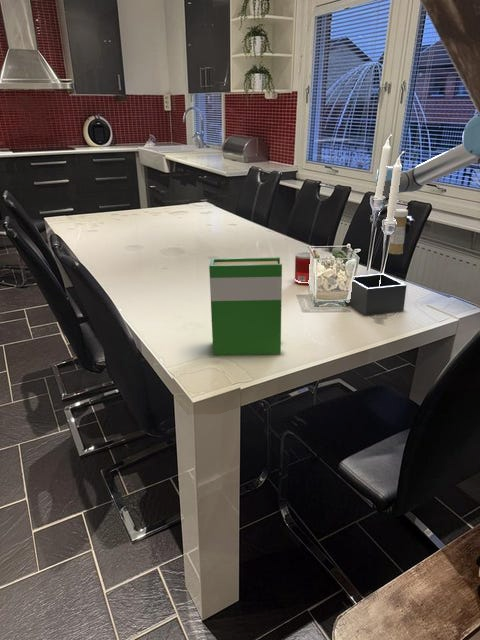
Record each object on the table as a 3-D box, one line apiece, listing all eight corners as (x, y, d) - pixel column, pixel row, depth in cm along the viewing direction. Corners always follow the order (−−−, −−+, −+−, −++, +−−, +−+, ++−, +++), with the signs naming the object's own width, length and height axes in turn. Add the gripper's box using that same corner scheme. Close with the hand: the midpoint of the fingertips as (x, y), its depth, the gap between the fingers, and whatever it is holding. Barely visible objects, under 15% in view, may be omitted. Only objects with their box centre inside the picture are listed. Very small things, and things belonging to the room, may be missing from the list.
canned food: (318, 284, 177) (319, 256, 173) (298, 286, 176) (299, 257, 172) (311, 278, 184) (312, 251, 180) (292, 280, 183) (292, 253, 179)
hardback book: (278, 342, 129) (279, 257, 120) (280, 354, 122) (281, 264, 113) (214, 343, 129) (211, 258, 120) (213, 355, 122) (209, 266, 113)
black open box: (403, 311, 149) (406, 284, 146) (365, 315, 146) (367, 289, 143) (380, 298, 162) (383, 273, 158) (345, 302, 158) (346, 277, 155)
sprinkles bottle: (388, 250, 149) (392, 208, 144) (403, 251, 148) (408, 208, 143) (387, 254, 145) (392, 210, 140) (403, 255, 143) (408, 210, 138)
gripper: (412, 227, 163) (427, 241, 142) (361, 226, 166) (368, 240, 144) (415, 205, 160) (430, 216, 139) (363, 205, 163) (370, 216, 141)
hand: (399, 228), depth 142 cm, fingers closed on sprinkles bottle, 4 cm apart
